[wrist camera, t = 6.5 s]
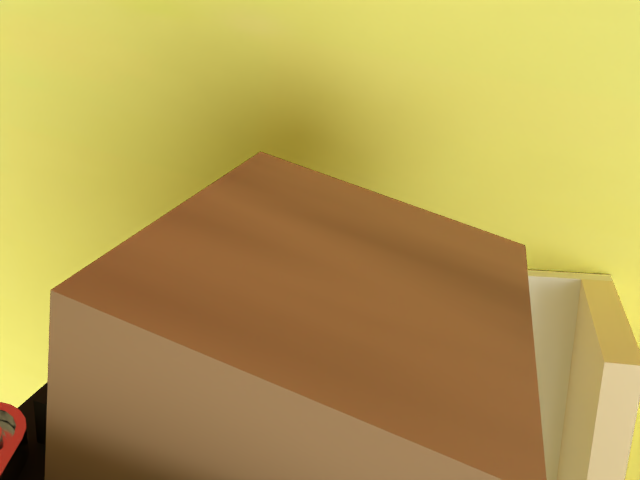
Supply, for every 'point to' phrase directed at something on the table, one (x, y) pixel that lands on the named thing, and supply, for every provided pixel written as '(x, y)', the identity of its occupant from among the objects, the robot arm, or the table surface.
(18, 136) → the table surface
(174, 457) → the block
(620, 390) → the arena
